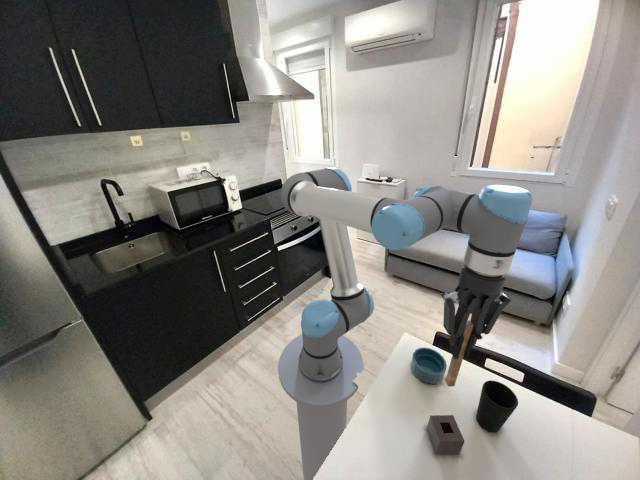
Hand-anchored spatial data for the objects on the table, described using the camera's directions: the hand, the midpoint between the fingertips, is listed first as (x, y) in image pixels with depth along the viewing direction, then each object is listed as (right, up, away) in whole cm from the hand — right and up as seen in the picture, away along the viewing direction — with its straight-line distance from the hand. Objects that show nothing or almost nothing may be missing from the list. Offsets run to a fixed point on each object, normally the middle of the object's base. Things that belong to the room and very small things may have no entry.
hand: (458, 353), depth 60 cm
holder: (0, -26, +7) cm, 27 cm away
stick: (0, -9, +4) cm, 10 cm away
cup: (+14, -24, +11) cm, 30 cm away
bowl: (+3, -17, +25) cm, 31 cm away
